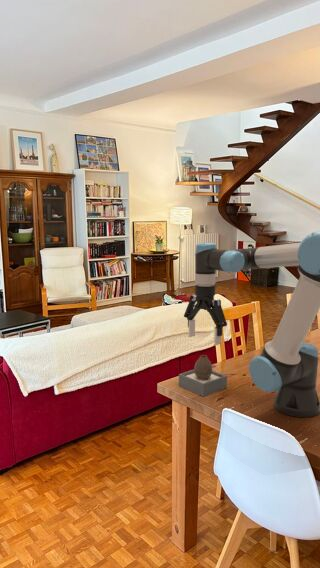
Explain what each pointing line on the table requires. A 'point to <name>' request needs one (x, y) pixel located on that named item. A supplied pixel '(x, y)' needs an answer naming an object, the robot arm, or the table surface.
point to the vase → (203, 368)
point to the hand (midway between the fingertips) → (204, 340)
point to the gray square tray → (202, 383)
